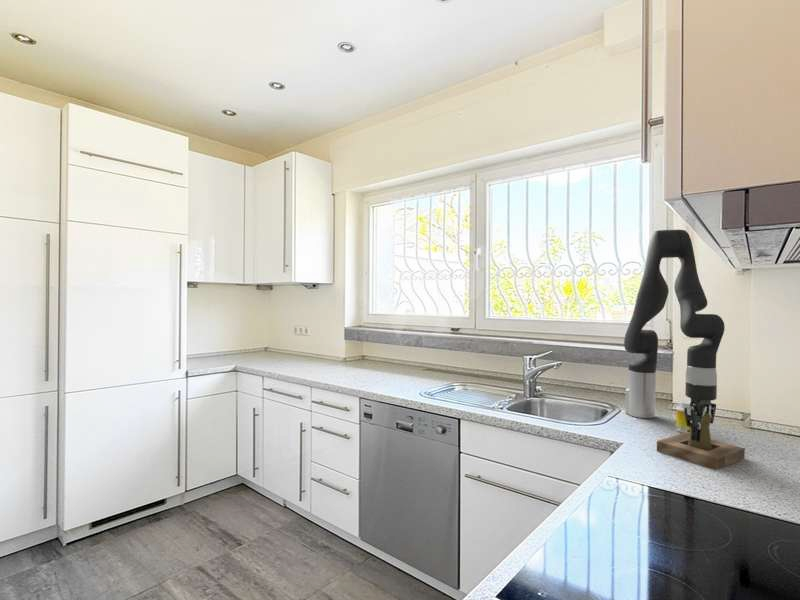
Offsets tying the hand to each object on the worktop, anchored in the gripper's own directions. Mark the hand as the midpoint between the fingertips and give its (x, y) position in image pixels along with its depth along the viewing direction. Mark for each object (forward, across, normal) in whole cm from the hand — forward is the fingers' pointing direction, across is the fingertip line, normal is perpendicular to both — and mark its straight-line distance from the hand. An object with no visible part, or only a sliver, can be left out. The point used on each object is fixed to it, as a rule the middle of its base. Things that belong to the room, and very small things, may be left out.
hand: (699, 439), depth 127 cm
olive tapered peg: (+3, 0, 0) cm, 3 cm away
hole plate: (+4, 0, 0) cm, 4 cm away
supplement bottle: (+5, -19, -13) cm, 23 cm away
